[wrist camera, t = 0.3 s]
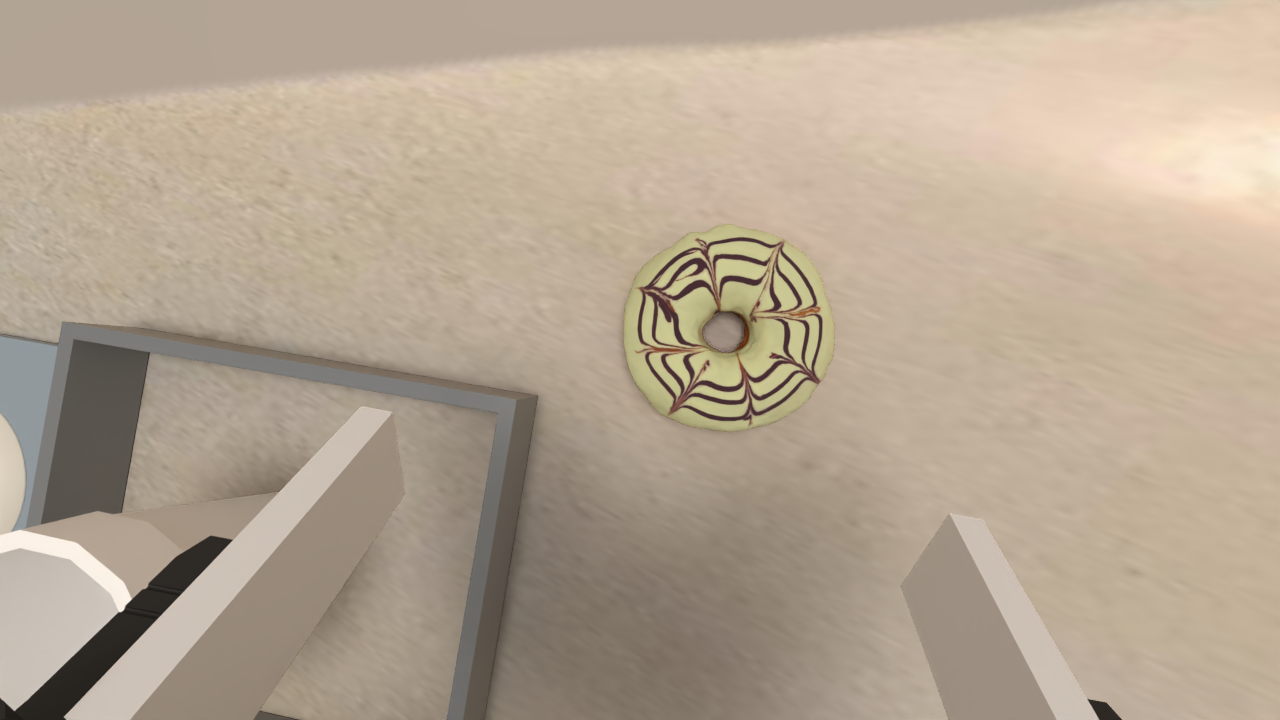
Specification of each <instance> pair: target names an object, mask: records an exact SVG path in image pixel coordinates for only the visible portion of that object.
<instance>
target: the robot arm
mask: <svg viewBox="0 0 1280 720" xmlns="http://www.w3.org/2000/svg"><path fill="white" fill-rule="evenodd" d="M404 495H405V491H404V484H403V477H402V470H401V463H400V456H399V449H398V442H397V435H396V428H395V421H394V414H393V412H391V411H386V410H380V409H375V408H369V407H364V406H361V407H360V408H359V409H358V410H357V411H356V412H355V413H354V414H353V415H352V416H351V417H350V419H349V420H348V421H347V422H346V423H345V424H344V425H343V426H342V427H341V428H340V429H339V430H338V431H337V432H336V433H335V434H334V435H333V436H332V437H331V438H330V439H329V440H328V442H327V443H326V444H325V445H324V446H323V447H322V448H321V449H320V450H319V451H318V452H317V453H316V454H315V455H314V456H313V457H312V458H311V459H310V460H309V461H308V462H307V463H306V465H305V466H304V467H303V468H302V469H301V470H300V471H299V472H298V473H297V474H296V475H295V476H294V477H293V478H292V479H291V480H290V481H289V482H288V483H287V484H286V485H285V486H284V488H283V489H282V490H281V491H280V492H279V493H278V494H277V495H276V496H275V497H274V498H273V499H272V500H271V501H270V502H269V503H268V504H267V505H266V506H265V507H264V508H263V509H262V511H261V512H260V513H259V514H258V515H257V516H256V517H255V518H254V519H253V520H252V521H251V522H250V523H249V524H248V525H247V526H246V527H245V528H244V529H243V530H242V531H241V532H240V533H239V535H238V536H237V537H236V538H235V539H234V540H232V539H227V538H222V537H216V536H209V537H207V538H206V539H204V540H202V541H201V542H199V543H198V544H196V545H194V546H193V547H191V548H189V549H188V550H186V551H184V552H183V553H181V554H179V555H178V556H176V557H175V558H174V559H173V560H172V561H171V562H170V563H169V564H168V565H167V566H166V567H165V568H164V569H163V570H162V571H161V572H160V573H159V574H158V575H157V576H155V577H154V578H153V579H152V580H151V581H150V582H149V583H148V587H147V588H146V589H142V590H141V591H140V592H139V593H138V594H137V595H136V596H135V597H134V598H133V599H132V600H131V601H130V602H128V603H127V604H126V605H125V609H124V610H123V611H122V612H118V613H117V614H116V615H115V616H114V617H113V618H112V619H111V620H110V621H109V622H108V623H107V624H106V625H105V626H104V627H103V628H102V629H100V630H99V631H98V632H97V633H96V634H95V635H94V636H93V637H92V638H91V639H90V640H89V641H88V642H87V643H86V644H85V645H84V646H83V647H82V648H81V649H80V650H79V651H78V652H77V653H76V654H75V655H73V656H72V657H71V658H70V659H69V660H68V661H67V662H66V663H65V664H64V665H63V666H62V667H61V668H60V669H59V670H58V671H57V672H56V673H55V674H54V675H53V676H52V677H51V678H50V679H49V680H48V681H47V682H45V683H44V684H43V685H42V686H41V687H40V688H39V689H38V690H37V691H36V692H35V693H34V694H33V695H32V696H31V697H30V698H29V699H28V700H27V701H26V702H24V703H23V704H22V705H21V706H20V707H18V708H17V709H16V710H15V711H14V710H13V709H12V708H11V707H10V706H9V705H7V704H6V703H5V702H4V701H3V700H2V699H1V698H0V720H253V719H254V718H255V717H256V715H257V714H258V712H259V711H260V709H261V708H262V706H263V705H264V703H265V702H266V700H267V699H268V697H269V696H270V694H271V693H272V691H273V690H274V688H275V687H276V685H277V684H278V682H279V681H280V679H281V678H282V676H283V675H284V673H285V672H286V670H287V669H288V667H289V666H290V664H291V663H292V661H293V660H294V658H295V657H296V656H297V654H298V653H299V651H300V650H301V648H302V647H303V645H304V644H305V642H306V641H307V639H308V638H309V636H310V635H311V633H312V632H313V630H314V629H315V627H316V626H317V624H318V623H319V621H320V620H321V618H322V617H323V615H324V614H325V612H326V611H327V609H328V608H329V606H330V605H331V603H332V602H333V600H334V599H335V597H336V596H337V594H338V593H339V592H340V590H341V589H342V587H343V586H344V584H345V583H346V581H347V580H348V578H349V577H350V575H351V574H352V572H353V571H354V569H355V568H356V566H357V565H358V563H359V562H360V560H361V559H362V557H363V556H364V554H365V553H366V551H367V550H368V548H369V547H370V545H371V544H372V542H373V541H374V539H375V538H376V536H377V535H378V533H379V532H380V531H381V529H382V528H383V526H384V525H385V523H386V522H387V520H388V519H389V517H390V516H391V514H392V513H393V511H394V510H395V508H396V507H397V505H398V504H399V502H400V501H401V499H402V498H403V496H404ZM901 588H902V591H903V594H904V596H905V599H906V602H907V605H908V608H909V610H910V613H911V616H912V619H913V621H914V624H915V627H916V630H917V633H918V635H919V638H920V641H921V644H922V646H923V649H924V652H925V655H926V658H927V660H928V663H929V666H930V669H931V672H932V674H933V677H934V680H935V683H936V685H937V688H938V691H939V694H940V697H941V699H942V702H943V705H944V708H945V710H946V713H947V716H948V719H949V720H1122V719H1121V718H1120V717H1119V716H1118V715H1117V714H1116V713H1115V712H1114V711H1113V709H1112V708H1111V707H1110V706H1109V705H1108V704H1107V703H1105V702H1100V701H1095V700H1089V699H1087V698H1086V696H1085V694H1084V693H1083V691H1082V689H1081V687H1080V686H1079V684H1078V682H1077V681H1076V679H1075V677H1074V675H1073V674H1072V672H1071V670H1070V669H1069V667H1068V665H1067V663H1066V662H1065V660H1064V658H1063V657H1062V655H1061V653H1060V651H1059V650H1058V648H1057V646H1056V645H1055V643H1054V641H1053V639H1052V638H1051V636H1050V634H1049V633H1048V631H1047V629H1046V627H1045V626H1044V624H1043V622H1042V620H1041V619H1040V617H1039V615H1038V614H1037V612H1036V610H1035V608H1034V607H1033V605H1032V603H1031V602H1030V600H1029V598H1028V596H1027V595H1026V593H1025V591H1024V590H1023V588H1022V586H1021V584H1020V583H1019V581H1018V579H1017V578H1016V576H1015V574H1014V572H1013V571H1012V569H1011V567H1010V566H1009V564H1008V562H1007V560H1006V559H1005V557H1004V555H1003V554H1002V552H1001V550H1000V548H999V547H998V545H997V543H996V542H995V540H994V538H993V536H992V535H991V533H990V531H989V530H988V528H987V526H986V524H985V523H984V521H983V519H979V518H973V517H968V516H962V515H957V514H951V513H949V514H948V516H947V517H946V519H945V520H944V522H943V523H942V525H941V526H940V528H939V529H938V531H937V532H936V534H935V535H934V537H933V538H932V540H931V541H930V543H929V544H928V546H927V547H926V549H925V550H924V552H923V553H922V555H921V556H920V558H919V559H918V561H917V562H916V564H915V565H914V567H913V568H912V570H911V571H910V573H909V574H908V576H907V577H906V579H905V580H904V582H903V583H902V585H901Z"/></svg>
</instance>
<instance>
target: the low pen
mask: <svg viewBox="0 0 1280 720" xmlns="http://www.w3.org/2000/svg"><path fill="white" fill-rule="evenodd" d="M149 352H151V353H157V354H162V355H168V356H174V357H180V358H185V359H191V360H197V361H203V362H208V363H214V364H220V365H226V366H231V367H237V368H243V369H249V370H254V371H260V372H266V373H271V374H277V375H283V376H289V377H294V378H300V379H306V380H312V381H317V382H323V383H329V384H335V385H340V386H346V387H352V388H358V389H363V390H369V391H375V392H381V393H386V394H392V395H398V396H404V397H409V398H415V399H421V400H427V401H432V402H438V403H444V404H450V405H455V406H461V407H467V408H472V409H478V410H484V411H490V412H495V413H498V417H497V423H496V429H495V435H494V441H493V447H492V453H491V459H490V465H489V471H488V477H487V483H486V489H485V495H484V501H483V507H482V513H481V519H480V525H479V531H478V537H477V543H476V548H475V554H474V560H473V566H472V572H471V578H470V584H469V590H468V596H467V602H466V608H465V614H464V620H463V626H462V632H461V638H460V644H459V650H458V656H457V662H456V668H455V674H454V680H453V686H452V692H451V698H450V704H449V710H448V716H447V720H484V717H485V711H486V705H487V699H488V693H489V687H490V681H491V675H492V669H493V663H494V657H495V651H496V645H497V639H498V633H499V627H500V621H501V615H502V609H503V603H504V597H505V591H506V585H507V579H508V573H509V567H510V561H511V555H512V549H513V543H514V537H515V531H516V525H517V519H518V513H519V507H520V501H521V495H522V489H523V483H524V477H525V471H526V465H527V459H528V453H529V447H530V441H531V435H532V429H533V423H534V417H535V411H536V405H537V399H538V396H536V395H530V394H524V393H518V392H513V391H507V390H501V389H495V388H489V387H483V386H477V385H472V384H466V383H460V382H454V381H448V380H442V379H437V378H431V377H425V376H419V375H413V374H407V373H401V372H396V371H390V370H384V369H378V368H372V367H366V366H360V365H355V364H349V363H343V362H337V361H331V360H325V359H319V358H314V357H308V356H302V355H296V354H290V353H284V352H278V351H273V350H267V349H261V348H255V347H249V346H243V345H238V344H232V343H226V342H220V341H214V340H208V339H202V338H197V337H191V336H185V335H179V334H173V333H167V332H161V331H156V330H150V329H144V328H135V327H123V326H110V325H98V324H86V323H74V322H62V326H61V332H60V338H59V343H58V349H57V355H56V360H55V366H54V372H53V377H52V383H51V388H50V394H49V400H48V405H47V411H46V417H45V422H44V428H43V434H42V439H41V445H40V450H39V456H38V462H37V467H36V473H35V479H34V484H33V490H32V496H31V501H30V507H29V512H28V518H27V524H26V528H29V527H34V526H38V525H42V524H46V523H50V522H54V521H58V520H63V519H67V518H71V517H75V516H79V515H83V514H87V513H92V512H96V511H100V512H105V513H109V514H118V513H121V510H122V504H123V499H124V493H125V487H126V482H127V476H128V470H129V465H130V459H131V453H132V447H133V442H134V436H135V430H136V425H137V419H138V413H139V408H140V402H141V396H142V390H143V385H144V379H145V373H146V368H147V362H148V356H149ZM253 720H296V719H291V718H287V717H282V716H278V715H273V714H269V713H264V712H260V711H259V712H258V714H257V715H256V717H255V718H254V719H253Z"/></svg>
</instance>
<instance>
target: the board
mask: <svg viewBox="0 0 1280 720" xmlns="http://www.w3.org/2000/svg"><path fill="white" fill-rule="evenodd" d="M57 349H58V344H56V343H50V342H44V341H39V340H33V339H27V338H21V337H16V336H10V335H4V334H0V535H3V534H6V533H10V532H14V531H17V530H21V529H25V528H26V524H27V518H28V512H29V507H30V501H31V496H32V490H33V484H34V479H35V473H36V467H37V462H38V456H39V450H40V445H41V439H42V434H43V428H44V422H45V417H46V411H47V405H48V400H49V394H50V388H51V383H52V377H53V372H54V366H55V360H56V355H57Z"/></svg>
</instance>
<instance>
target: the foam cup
mask: <svg viewBox="0 0 1280 720" xmlns="http://www.w3.org/2000/svg"><path fill="white" fill-rule="evenodd" d="M278 493H279V492H274V493H266V494H259V495H251V496H244V497H237V498H229V499H222V500H214V501H207V502H200V503H192V504H185V505H177V506H170V507H163V508H155V509H148V510H140V511H133V512H125V513H118V514H109V513H105V512H100V511H96V512H92V513H87V514H83V515H79V516H75V517H71V518H67V519H63V520H58V521H54V522H50V523H46V524H42V525H38V526H34V527H29V528H25V529H21V530H17V531H14V532H10V533H6V534H3V535H0V698H1V699H2V700H3V701H4V702H5V703H6V704H7V705H9V706H10V707H11V708H12V709H13V710H14V711H15V710H16V709H17V708H18V707H20V706H21V705H22V704H23V703H24V702H26V701H27V700H28V699H29V698H30V697H31V696H32V695H33V694H34V693H35V692H36V691H37V690H38V689H39V688H40V687H41V686H42V685H43V684H44V683H45V682H47V681H48V680H49V679H50V678H51V677H52V676H53V675H54V674H55V673H56V672H57V671H58V670H59V669H60V668H61V667H62V666H63V665H64V664H65V663H66V662H67V661H68V660H69V659H70V658H71V657H72V656H73V655H75V654H76V653H77V652H78V651H79V650H80V649H81V648H82V647H83V646H84V645H85V644H86V643H87V642H88V641H89V640H90V639H91V638H92V637H93V636H94V635H95V634H96V633H97V632H98V631H99V630H100V629H102V628H103V627H104V626H105V625H106V624H107V623H108V622H109V621H110V620H111V619H112V618H113V617H114V616H115V615H116V614H117V613H118V612H122V611H123V610H124V609H125V605H126V604H127V603H128V602H130V601H131V600H132V599H133V598H134V597H135V596H136V595H137V594H138V593H139V592H140V591H141V590H142V589H146V588H147V587H148V583H149V582H150V581H151V580H152V579H153V578H154V577H155V576H157V575H158V574H159V573H160V572H161V571H162V570H163V569H164V568H165V567H166V566H167V565H168V564H169V563H170V562H171V561H172V560H173V559H174V558H175V557H176V556H178V555H179V554H181V553H183V552H184V551H186V550H188V549H189V548H191V547H193V546H194V545H196V544H198V543H199V542H201V541H202V540H204V539H206V538H207V537H209V536H216V537H222V538H227V539H232V540H234V539H235V538H236V537H237V536H238V535H239V533H240V532H241V531H242V530H243V529H244V528H245V527H246V526H247V525H248V524H249V523H250V522H251V521H252V520H253V519H254V518H255V517H256V516H257V515H258V514H259V513H260V512H261V511H262V509H263V508H264V507H265V506H266V505H267V504H268V503H269V502H270V501H271V500H272V499H273V498H274V497H275V496H276V495H277V494H278Z"/></svg>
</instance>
